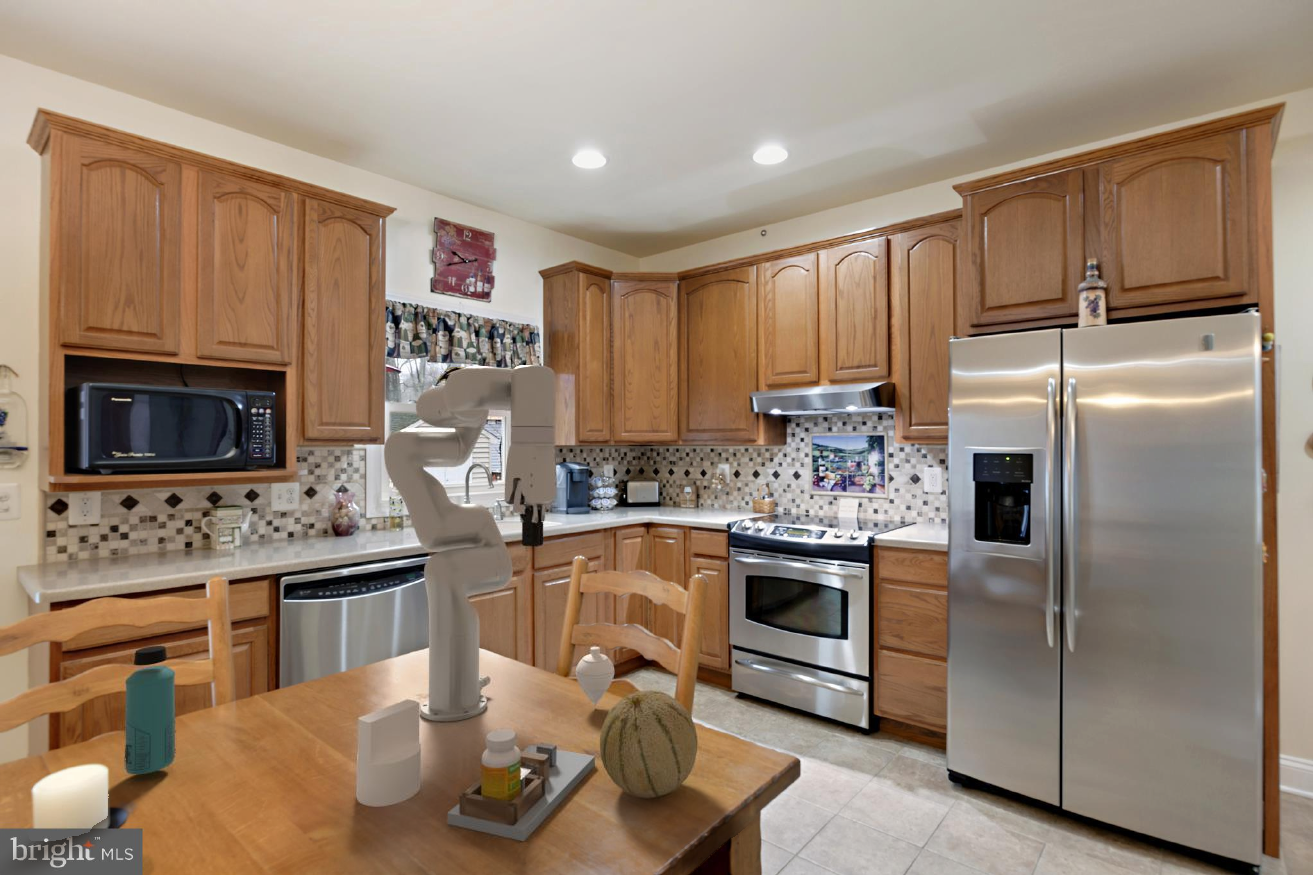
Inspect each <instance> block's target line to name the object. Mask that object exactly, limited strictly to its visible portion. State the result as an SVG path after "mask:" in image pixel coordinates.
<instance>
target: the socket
mask: <svg viewBox="0 0 1313 875" xmlns="http://www.w3.org/2000/svg"><path fill="white" fill-rule="evenodd" d="M544 795H545V777H542V776H537V775H532V774H528V775H527V776H526V777H525V789H524V790H523V791H522V792H521V793H520V794H519V795H518V796H517V797H516V798H515V799H514V800H513V801H512V802H508V801H504V800H499V799H494V798H489V797H484V796H481V778H479V780H477V781H476V782H475V783H474V784H473V785H471V786H470V787H469V788H467V789H466V790H465V791H464V792H462V793H461V794H460V795H459V796H458V797H459V800H458V801H459V802H458V804H459V814H460V815H465V816H469V817H474V818H478V819H483V820H487V821H492V822H496V823H501V824H505V825H510V826H514V825H515V824H516V823H517V822H518V821H519V820H520V819H521V818H522V817H523V816H524V815H525V814H526V813H527V812H528V811H529V810H530V809H531V808H532V807H533V806H534V805H535V804H536V803H537V802H538V801H539V800H540V799H541V798H542V797H543V796H544Z"/></svg>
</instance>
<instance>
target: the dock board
mask: <svg viewBox="0 0 1313 875" xmlns="http://www.w3.org/2000/svg"><path fill="white" fill-rule="evenodd" d="M536 748H537V745H532V744H530V745H529V746H527V747H526V748H525V749H523V750H520V753H521V766H523V765H524V764H525V763H532V764H537V765H538V776H542V777H545V795H544V796H543V797H542V798H541V799H540V800H539V801H538V802H537V803H536V804H535V805H534V806H533V807H532V808H531V809H530V810H529V811H528V812H527V813H526V814H525V815H524V816H523V817H522V818H521V819H520V820H519V821H518V822H517V823H516V824H515V825H514V826H510V825H505V824H501V823H496V822H492V821H487V820H483V819H478V818H474V817H469V816H465V815H460V814H459V803H458V804H456V805H455V806H453V808H451V809H450V810H449V811H448V812H447V822H446V823H447V825H451V826H455V827H459V828H465V829H469V830H473V831H477V832H482V833H486V834H489V835H490V834H491V835H494V836H499V837H502V838H506V839H510V840H511V839H512V840H516V841H521V842H525V841H526V839H527V838H528V837H529V836H531V834H532V833H533V832H534V831H535V830H536V829H537V828H538V827H539V826H540V825H541V823H543V822H544V821H545V819H546V818H548V817H549V815H550V814H551V813H552V812H553V811H554V810H555V809H556V808H557V806H558V805H559V804H560V803H561V802H562V801H563V800H564V799H565V798H566V797H567V796H568V795H569V794H570V793H571V792H572V790H574V788H575V787H577V785H578V784H579V783H580V782H581V781H582V780H583V779H584V778H585V777H586V775H588V773H589V772H591V770H592V769H593V768H594V767H595V766H596V756H595V755H591V754H584V753H578V752H573V751H568V750H567V751H566V750H561V749H558V748H556V764H555V765H554V766H553V767H549V756H546V755H541V754H536Z"/></svg>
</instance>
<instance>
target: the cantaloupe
mask: <svg viewBox="0 0 1313 875" xmlns="http://www.w3.org/2000/svg"><path fill="white" fill-rule="evenodd" d="M698 743H699V742H698V734H697V730H696V725H695V722H694V721H693V718H692V716H691V714H690V713H689V711H688V710H687V708H685V706H684V705H683V704H682V703H681V702H680V701H678V700H677V699H676V698H674V697H672V695H669V694H668V693H665V692H664V691H661V690H653V689H652V690H641V691H639V690H638V691H636V692H634V693H631V694H629V695H627V696H625V697H624V698H622V699H621V700H619V701H618V702H616V703H615V704H614V705H613V706H612V707H611V708H610V710H608V713H607V715H606V717H605V720H604V722H603V725H602V727H601V730H600V737H599V752H600V759H601V762H602V765H603V768H604V769H605V772H606V773H607V775H608V777H610V779H611V780H612V782H613V783H614V784H615V785H616V786H617V787H618V788H620V790H622V791H623V792H624V793H626V794H628V795H630V796H634V797H639V798H644V799H651V798H656V797H659V796H660V797H661V796H664V795H668V794H670V793H671V792H672V791H674V790H675V789H677V788H678V787H680V786H681V785H682V784H683V783H684V782H685V781H686V780H687V779H688V777H689V776H690V775H691V773H692V769H693V768H694V766H695V763H696V758H697V753H698V746H699V744H698Z"/></svg>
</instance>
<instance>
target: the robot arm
mask: <svg viewBox="0 0 1313 875" xmlns="http://www.w3.org/2000/svg"><path fill="white" fill-rule="evenodd" d="M415 410H416V414H417V416H418V418H419V419H420V420H421V421H422V422H423V423H424V424H426V425H427V426H430V427H434V428H421V427H418V428H414V427H413V428H404V429H399V430H397V431H394V432H393V433H391V434H390V435H389V436H388V437H387V439H386V441H385V444H384V449H383V452H384V453H383V457H384V466H385V468H386V472H387V474H388V478H389V479H390V480H391V483H392V484H393V486H394V488H395V490H396V491H397V492H398V494H399V495H400V497H401V498H402V500H403V502H404V504H405V507H406V510H407V512H408V516H409V518H410V521H411V523H412V526H413V529H414V531H415V534H416V537H417V540H418V542H419V544H420V545H421V547H422V548H423V549H424V550H425V551H428V552H433V553H434V552H435V554H433V555H431V556H430V557H429V558H428V559H427V561H426V563H425V565H424V570H423V575H424V576H423V577H424V584H425V589H426V590H425V591H426V596H427V603H428V623H429V624H428V699H427V700H425V701H424V702H423V703H421V704H420V709H419V714H420V716H421V717H422V718H424V719H426V720H429V721H432V722H433V721H434V722H456V721H457V722H458V721H462V720H467V719H469V718H473V717H475V716H478V715H479V714H481V713H483V712H484V711H485V710H486V708H487V707H488V699H487V697H485V696H484V695H482V694H481V692H482V690H483V688H484V687H486V686H488V685H490V683H491V678H490V676H488V675H484V676H481V677H480V619H479V618H480V617H479V614H478V611H477V610H476V609H475V607H474V606H473V604H471V602H470V599H469V597H470V596H474V595H479V594H485V593H490V592H491V593H492V592H494V591H499V590H502V589H504V588H505V587H507V586H508V585H509V583H510V582H511V581H512V578H513V571H514V569H513V561H512V558H511V554H510V552H509V550H508V548H507V546H506V543H505V541H504V537H503V536H502V534H501V531H500V530H499V527H498V524H497V522H496V520H495V518H494V516H493V514H492V513H491V511H490V510H489V509H488V508H487V507H486V506H485V505H482V504H479V503H461V504H457V503H453V502H452V501H451V499H450V497H449V496H448V494H447V491H446V488H445V487H444V485H443V484H442V483H441V482H440V480H438V479H437V478H436V477H435V476H433V474H431V473H430V472H428V471H427V470H425V468H454V467H455V468H457V467H461V466H462V465H464V464H465V463H466V462H467V461H468V460H469V459H470V457H471V455H472V453H473V451H474V450H475V449H474V448H475V446H476V444H477V443H478V440H479V438H480V436H481V434H482V432H483V430H484V428H485V426H486V423H487V421H488V418H489V412H490V411H491V410H495V411H509V412H510V446H509V447H508V451H507V452H508V453H507V458H506V465H505V477H504V478H505V479H504V502H505V504H507V505H510V506H512V512H513V513H514V514H517V515H519V519H520V523H521V544H522V546H524V547H539V546H540V547H541V546H543V545H544V522H545V520H546V512H547V511H548V510H549V509H550V508H551V507H552V502H553V501H554V500H555V499H556V496H557V469H556V468H557V467H556V465H557V464H556V455H555V454H556V453H555V448H554V447H556V374H555V371H554V369H552V368H551V367H548V366H545V365H539V364H538V365H537V364H536V365H535V364H528V365H527V364H526V365H518V366H516V367H514V368H508V367H507V368H504V367H495V366H487V365H486V366H483V365H473V366H466V367H464V368H460V369H457V370H454V371H453V372H451V373H450V374H449V375H448V377H447V379H446V380H445V382H444V384H440V385H437V386H434V387H431V388H429V389H427V390H425V391H424V392H422V393H421V394H420V396H419V397H418V398H417V400H416V403H415ZM510 584H511V583H510Z"/></svg>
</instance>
